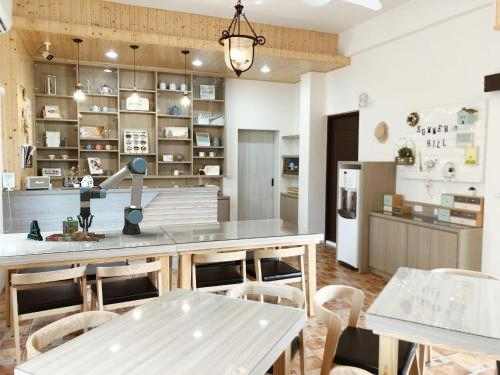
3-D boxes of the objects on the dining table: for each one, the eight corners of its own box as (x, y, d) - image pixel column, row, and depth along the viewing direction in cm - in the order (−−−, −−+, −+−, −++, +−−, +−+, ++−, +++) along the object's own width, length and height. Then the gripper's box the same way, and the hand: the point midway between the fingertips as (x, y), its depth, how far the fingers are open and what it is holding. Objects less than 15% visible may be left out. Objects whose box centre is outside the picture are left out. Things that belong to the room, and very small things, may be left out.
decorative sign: (43, 240, 324) (42, 221, 323) (40, 241, 322) (39, 221, 321) (30, 237, 334) (29, 218, 333) (27, 238, 332) (26, 219, 331)
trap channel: (107, 236, 344) (107, 232, 344) (98, 241, 322) (98, 237, 322) (57, 235, 343) (57, 232, 343) (45, 241, 321) (45, 237, 321)
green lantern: (68, 236, 341) (67, 218, 340) (62, 234, 347) (61, 217, 346) (78, 234, 349) (78, 217, 347) (72, 233, 354) (72, 215, 353)
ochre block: (86, 238, 333) (86, 231, 332) (83, 240, 326) (83, 233, 325) (77, 238, 332) (77, 231, 332) (74, 240, 326) (73, 232, 325)
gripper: (74, 207, 323) (75, 237, 325) (91, 207, 324) (92, 237, 325) (78, 205, 331) (79, 235, 332) (95, 206, 331) (95, 235, 333)
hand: (85, 236), depth 329 cm, fingers closed
